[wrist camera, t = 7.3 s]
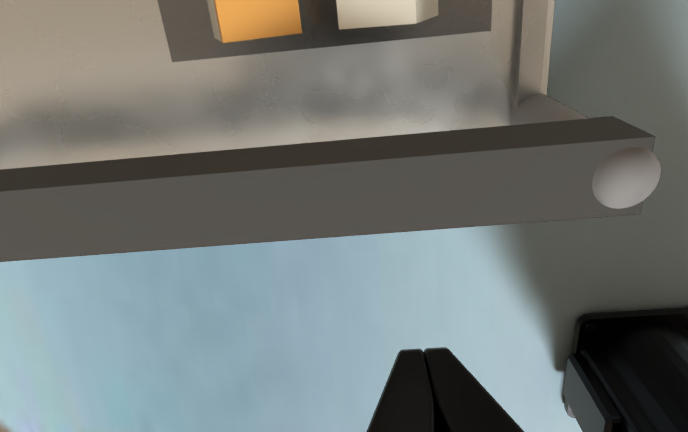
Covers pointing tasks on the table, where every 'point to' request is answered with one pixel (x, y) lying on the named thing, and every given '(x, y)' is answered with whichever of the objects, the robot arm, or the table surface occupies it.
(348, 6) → the paddle on
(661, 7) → the table surface
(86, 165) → the gray bar rack
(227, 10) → the paddle
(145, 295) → the table surface
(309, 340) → the table surface
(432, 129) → the panel
